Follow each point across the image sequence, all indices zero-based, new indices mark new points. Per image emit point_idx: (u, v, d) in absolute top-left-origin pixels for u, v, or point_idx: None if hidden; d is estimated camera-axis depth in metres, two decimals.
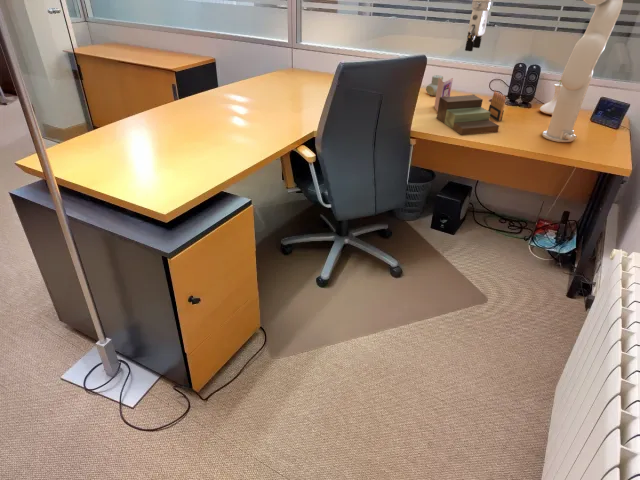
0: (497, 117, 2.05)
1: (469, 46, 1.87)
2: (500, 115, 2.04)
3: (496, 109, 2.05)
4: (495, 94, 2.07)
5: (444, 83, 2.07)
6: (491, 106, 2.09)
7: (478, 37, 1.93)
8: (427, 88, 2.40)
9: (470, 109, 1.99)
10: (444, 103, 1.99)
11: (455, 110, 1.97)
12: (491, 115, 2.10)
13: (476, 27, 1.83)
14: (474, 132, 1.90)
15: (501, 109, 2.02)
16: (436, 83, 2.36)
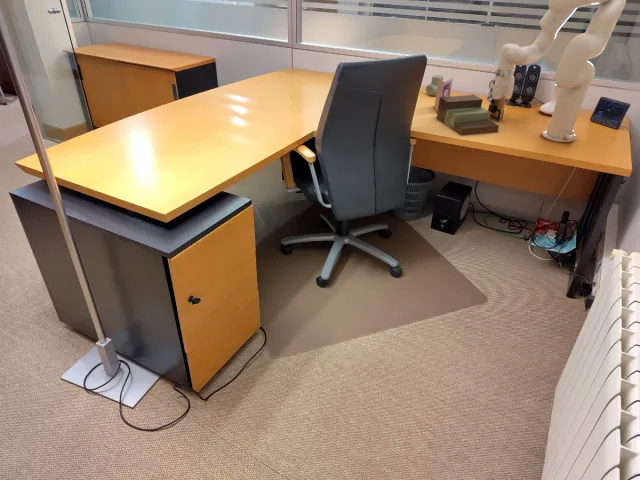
0: (497, 117, 2.05)
1: (492, 109, 2.06)
2: (500, 115, 2.04)
3: (496, 109, 2.05)
4: None
5: (444, 83, 2.07)
6: (491, 106, 2.09)
7: None
8: (427, 88, 2.40)
9: (470, 109, 1.99)
10: (444, 103, 1.99)
11: (455, 110, 1.97)
12: (491, 115, 2.10)
13: (493, 91, 2.00)
14: (474, 132, 1.90)
15: (501, 109, 2.02)
16: (436, 83, 2.36)
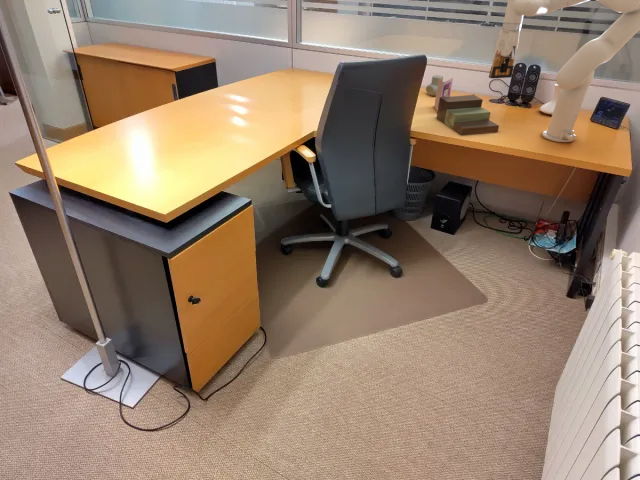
0: None
1: None
2: (491, 71, 1.95)
3: None
4: None
5: (444, 83, 2.07)
6: None
7: None
8: (427, 88, 2.40)
9: (470, 109, 1.99)
10: (444, 103, 1.99)
11: (455, 110, 1.97)
12: None
13: None
14: (474, 132, 1.90)
15: None
16: (436, 83, 2.36)
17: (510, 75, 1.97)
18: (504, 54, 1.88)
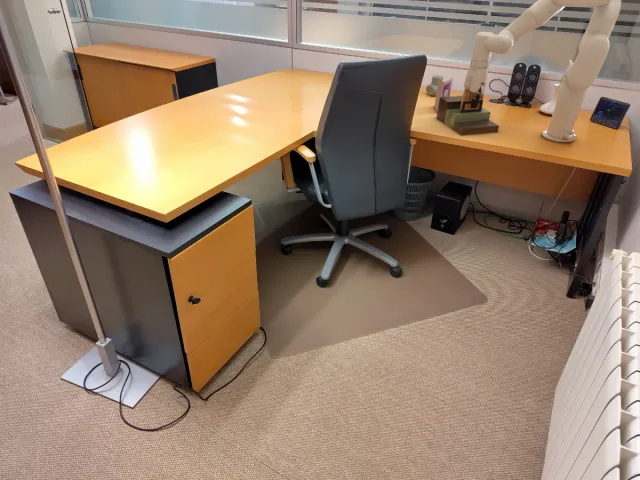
0: None
1: None
2: (460, 106, 1.94)
3: None
4: None
5: (444, 83, 2.07)
6: None
7: None
8: (427, 88, 2.40)
9: None
10: (444, 103, 1.99)
11: (455, 110, 1.97)
12: None
13: None
14: (474, 132, 1.90)
15: (462, 99, 1.92)
16: (436, 83, 2.36)
17: (480, 109, 1.96)
18: (473, 90, 1.87)
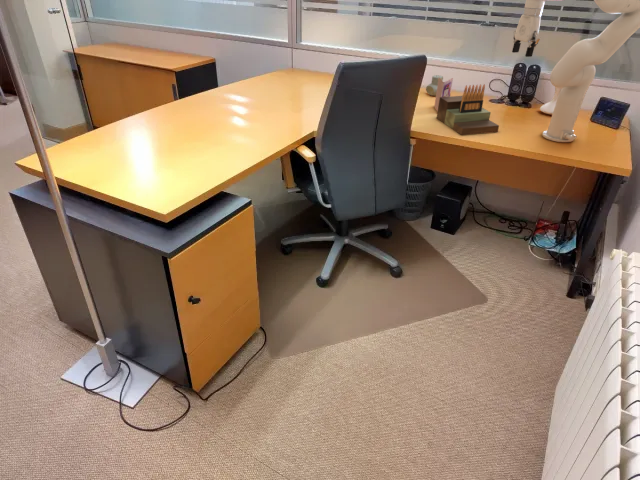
0: None
1: None
2: (460, 106, 1.94)
3: None
4: (482, 88, 1.91)
5: (444, 83, 2.07)
6: None
7: None
8: (427, 88, 2.40)
9: None
10: (444, 103, 1.99)
11: (455, 110, 1.97)
12: None
13: None
14: (474, 132, 1.90)
15: (462, 99, 1.92)
16: (436, 83, 2.36)
17: (480, 109, 1.96)
18: (525, 39, 1.90)
